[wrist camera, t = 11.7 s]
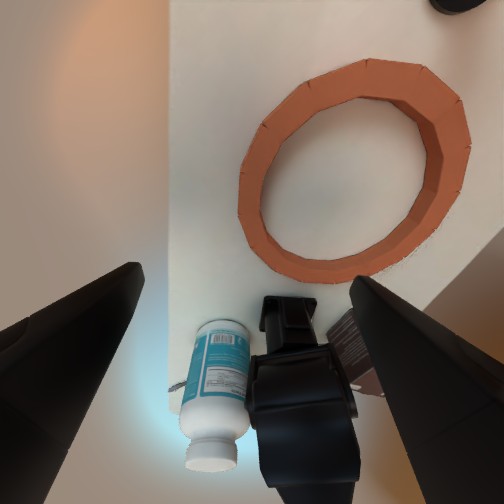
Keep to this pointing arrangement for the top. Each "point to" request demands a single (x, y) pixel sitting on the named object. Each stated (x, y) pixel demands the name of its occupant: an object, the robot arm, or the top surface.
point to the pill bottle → (216, 396)
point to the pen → (177, 387)
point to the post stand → (455, 5)
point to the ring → (339, 91)
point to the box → (354, 356)
